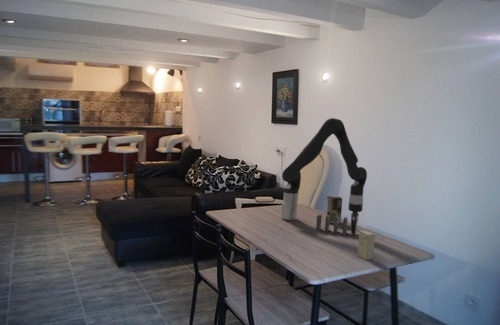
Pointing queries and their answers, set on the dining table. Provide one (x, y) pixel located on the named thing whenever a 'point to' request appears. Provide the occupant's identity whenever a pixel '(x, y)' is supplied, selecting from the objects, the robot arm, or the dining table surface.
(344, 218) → the domino
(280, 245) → the dining table surface
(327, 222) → the domino
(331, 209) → the coffee box
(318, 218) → the domino
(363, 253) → the skincare box
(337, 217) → the domino
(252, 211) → the dining table surface
